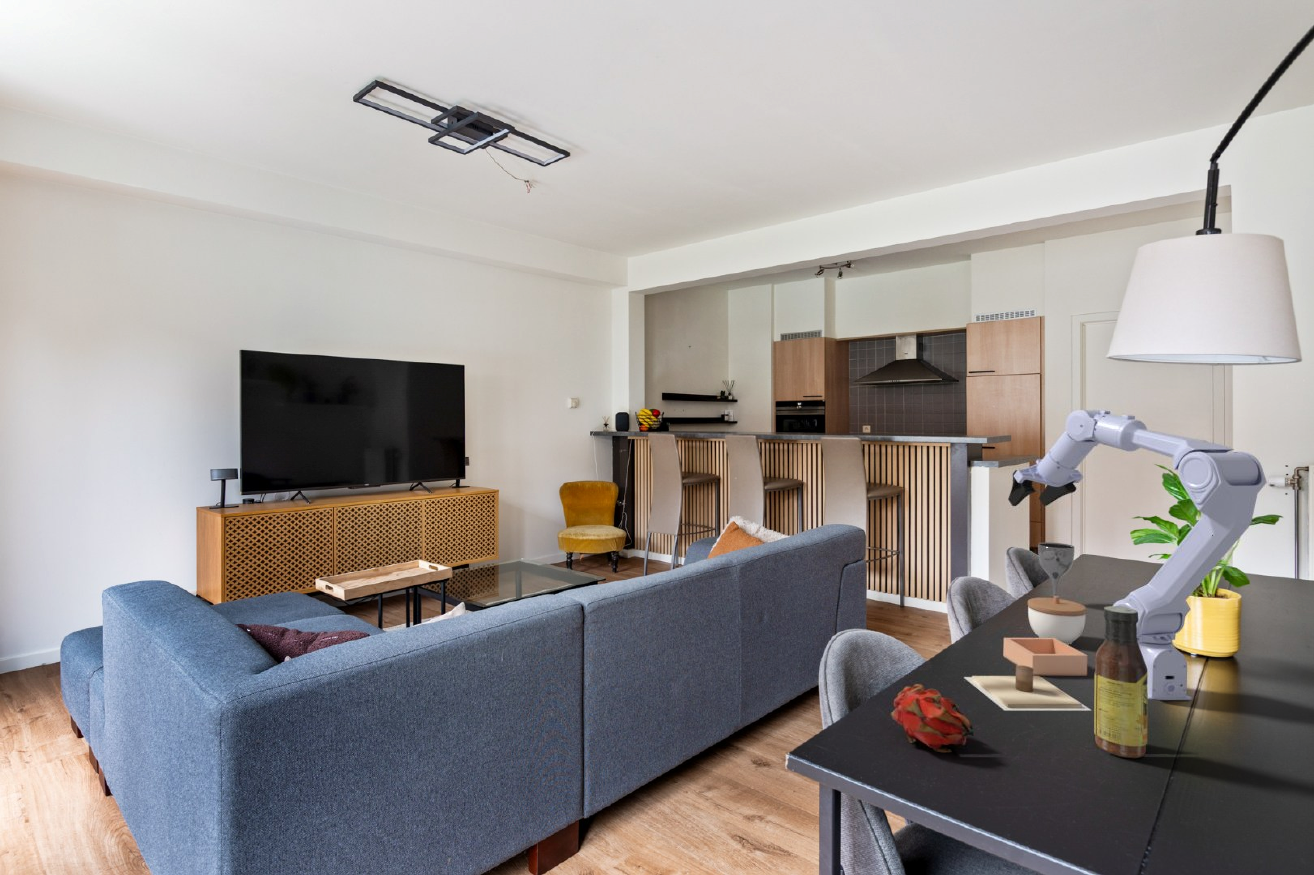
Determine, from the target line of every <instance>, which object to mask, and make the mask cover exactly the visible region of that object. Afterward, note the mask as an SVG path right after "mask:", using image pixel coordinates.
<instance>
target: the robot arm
mask: <svg viewBox="0 0 1314 875" xmlns="http://www.w3.org/2000/svg"><path fill="white" fill-rule="evenodd" d="M1099 444H1100V445H1103V446H1108V447H1112V448H1115V449H1118V450H1122V451H1125V452H1134V451H1137V450H1140V449H1144V450H1147V451H1150V452H1153V453H1156V454H1160V455H1162V456H1166V457H1168V458H1172V459H1173V461H1172V469H1173V470H1174V471H1177V475H1178V478H1179V481H1180V484H1181V485H1182V486H1183V488H1184V490H1185V491H1186V493H1187V495H1188V497H1189V498H1190V500H1191V501H1192V503H1193V505H1194V506H1195V508H1196V509H1197V511H1198V512H1200V513H1201V516H1200V518H1199V520H1198V521H1197V522H1196V523H1195V525H1194V526H1193V527H1192V529H1191V530H1190V531H1189V532H1188V533H1187V535H1186V536H1185V537H1184V538H1183V540H1181V542H1180V543H1179V545H1178V546H1177V547H1176V548H1175V550H1174V551H1173V552H1172V553H1171V555H1170V556H1169V557H1168V559H1166V561H1165V562H1164V564H1163V565H1162V566H1161V567H1160V568H1159V569H1158V571H1157V572H1156V574H1155V575H1154V576H1153V577H1152V578H1151V580H1150V581H1149V582H1148V583H1147V584H1145V585H1144V586H1143V585H1142V586H1141V587H1139V588H1137V589H1135V590H1133V591H1131V592H1129V594H1128V595H1127V596H1126V597H1125V598H1123V599H1120V600H1117V601H1116V602H1114V603H1113V605H1112V606H1118V607H1125V608H1130V609H1134V610H1136V611H1137V612H1138V622H1137V642H1138V645H1139V647H1140V650H1141V653H1142V656H1143V658H1144V661H1145V664H1146V667H1147V671H1148V678H1147V681H1148V683H1147V688H1148V689H1147V692H1148V700H1158V701H1192V696H1190V695H1188V694H1187V690H1188V689H1187V688H1188V662H1187V658H1186V657H1185V655H1184V653H1182V652H1180V651H1179V650H1178V649H1177V648H1176V647H1175V645H1174V643H1173V641H1175V640H1176V634H1178V633H1180V632H1181V630H1183V628H1184V626H1185V621H1186V618H1187V615H1188V613H1189V612H1190V611H1191V610H1192V609H1191V607H1190V605H1189V603H1188V601H1187V599H1188V598H1189V597H1190V596H1191V594H1193V592H1194V591H1195V590H1196V589H1197V588H1198V587H1199V586H1200V585H1201V583H1202V582H1203V581H1204V580H1205V579H1206V578H1207V577H1208V575H1209V574H1210V573H1211V572H1212V570H1213V569H1214V568H1215V567H1216V566H1217V565H1218V563H1219V562H1220V561H1221V560H1222V559H1223V557H1224V556H1225V555H1226V554H1227V553H1228V552H1229V551H1230V550H1231V549H1232V547H1233V546H1234V545H1235V544H1236V543H1237V542H1238V540H1239V539H1240V538H1241V537H1242V536H1243V535H1244V533H1245V532H1246V531H1247V530H1248V529H1249V528H1250V526H1251V524H1252V520H1253V516H1254V512H1255V507H1256V503H1257V499H1258V494H1259V492H1261V490H1262V489H1263V488H1264V487H1265V485H1267V482H1268V481H1267V479H1266V475H1265V473H1264V469H1263V466H1262V464H1261V462H1260V461H1259V459H1258V458H1256V456H1255V455H1253V454H1251V453H1249V452H1245V451H1234V450H1235V449H1234V448H1232V447H1229V446H1227V445H1222V444H1218V443H1214V442H1209V441H1205V440H1202V439H1198V438H1196V439H1195V438H1191V437H1186V436H1181V435H1176V434H1170V433H1165V432H1160V431H1155V430H1149V429H1148V428H1147V426H1146V424H1145V423H1144V422H1142V421H1141V420H1138V419H1136V416H1135V415H1132V414H1122V416H1120V415H1117V414H1116V415H1115V414H1111V411H1110V410H1102V409H1101V410H1100V409H1098V410H1097V409H1079V410H1078V409H1077V410H1074V411H1072V412H1070V413H1069V414H1068V416H1067V417H1066V420H1065V430H1064V432H1063V433H1062V434H1061V435H1060V437H1059V438H1058V439H1057V440H1056V442H1055V443H1053V445H1052V446H1051V448H1050V449H1049V451H1048V452H1047V453H1046V454H1045V456H1044V457H1043V458H1038V459H1036V461H1035V463H1036V464H1034V465H1031V466H1029V467H1026V468H1023V469H1017V470H1016V469H1015V470H1014V471H1013V472H1012V485H1011V490H1010V492H1009V495H1008V499H1007V500H1008V501H1009V503H1010V505H1011V506H1012V507H1016V506H1018V505H1019V504H1020V503H1021V502H1022V501H1023V500H1024V499H1025V498H1026V497H1028V496H1030V495H1031V494H1034V493H1036V490H1035V488H1034V486H1033V482H1035V483H1038V484H1039V483H1040V484H1043V485H1045V488H1044V489H1043V490H1042V492H1041V493H1040V495H1039V497H1038V499H1039V501H1040V503H1041V504H1042V505H1043V507H1046V506H1049V505H1050V504H1052V503H1053V502H1055V501H1056V500H1058V499H1060V498H1062V497H1064V496H1066V495H1069V494H1072V493H1076V490H1077V486H1076V485H1075V484H1079V483H1080V482H1081V481H1082V479H1084V475H1083V474H1082V473H1081V471H1080V470H1079V469H1077V467H1078V466H1079V465H1080V464H1081V463H1082V461H1084V459H1085V458H1086V457H1087V456H1088V455H1089V453H1091V451H1092V450H1093V449H1094V447H1098V446H1099ZM1231 451H1233V452H1231ZM1074 483H1075V484H1074ZM1212 535H1213V537H1212Z"/></svg>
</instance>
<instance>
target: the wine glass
mask: <svg viewBox="0 0 1314 875" xmlns="http://www.w3.org/2000/svg"><path fill="white" fill-rule="evenodd" d="M1037 547H1038V548H1037V550H1038V551H1037V552H1038V553H1037V554H1038V560H1039V565H1040V566H1041V568H1042V569H1043V571H1044V572H1045V574H1047V575H1048V577H1049V579H1050V580H1051V583H1052V598H1054V596H1058V586H1059V582H1060V580H1061V579H1062V577H1064V576H1065V575H1066V574H1067V573H1068V572H1070V570H1071V569H1072V566H1073V564H1074V560H1075V546H1074V545H1072V544H1068V543H1060V542H1039V543H1038V545H1037Z"/></svg>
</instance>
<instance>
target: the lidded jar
mask: <svg viewBox="0 0 1314 875" xmlns="http://www.w3.org/2000/svg"><path fill="white" fill-rule="evenodd" d="M1027 606H1028V607H1027V613H1028V614H1027V616H1028V622H1029V624H1030V625H1029V626H1030V628H1031V630H1032V631H1033V632H1034V633H1035V635H1036V636H1038V638H1056V639H1057V640H1059V641H1061V642H1063V643H1065V644H1067V645H1069V644H1070V645H1072V644H1073V642H1074V641H1076V640H1077V639H1078V638H1080V637H1081V635H1082V633H1083V631H1084V628H1085V625H1086V614H1087V607H1086V606H1085V605H1083V604H1081V603H1079V602H1076V601H1071V600H1067V599H1062V598H1060V596H1059V595H1057V596H1054V598H1053V597H1034V598H1033V597H1032V598H1030V599H1028V600H1027ZM1070 645H1069V646H1070Z"/></svg>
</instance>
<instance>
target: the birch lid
mask: <svg viewBox="0 0 1314 875" xmlns="http://www.w3.org/2000/svg"><path fill="white" fill-rule="evenodd" d="M971 677H972V680H973V681H975V682H976V683H977V684H978V685H980V686H981V687H982V688H983V689H985V690H986V691H987V692H989V693H990V694H991V695H992V696H994V697H995V698H996V699H997V700H999V701H1000V702H1001V703H1002V704H1004V705H1005V706H1006V707H1007V708H1082V703H1081V702H1080V701H1078V700H1077V699H1075V698H1074V697H1072V696H1071V697H1070V695H1069V694H1067V693H1066V692H1064V691H1063V692H1062V690H1061V689H1060V690H1059V688H1058V687H1057V686H1056V685H1054V684H1052V683H1051V682H1049V681H1048V680H1046V679H1044V678H1043V677H1041V676H1040V675H1033V668H1031V667H1028V666H1022V665H1018V666H1017V665H1015V675H972V676H971ZM1050 683H1051V684H1050ZM1053 685H1054V686H1053ZM1056 687H1057V688H1056ZM1073 698H1074V699H1073ZM1076 700H1077V701H1076ZM1079 702H1080V703H1079Z"/></svg>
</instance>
